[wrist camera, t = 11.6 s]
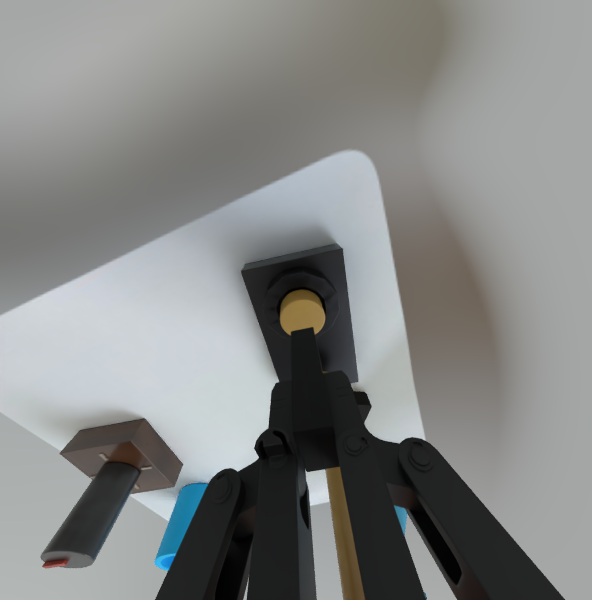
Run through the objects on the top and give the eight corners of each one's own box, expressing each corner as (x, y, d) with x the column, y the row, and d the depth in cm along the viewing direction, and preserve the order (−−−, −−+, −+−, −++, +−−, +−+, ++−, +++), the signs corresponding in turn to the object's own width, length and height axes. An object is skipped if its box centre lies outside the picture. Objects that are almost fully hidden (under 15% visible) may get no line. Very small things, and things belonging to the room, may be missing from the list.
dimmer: (127, 459, 28) (69, 553, 21) (146, 478, 30) (101, 569, 23) (93, 465, 29) (24, 559, 21) (115, 483, 31) (60, 575, 23)
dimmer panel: (79, 430, 30) (57, 454, 27) (144, 418, 29) (129, 442, 27) (126, 474, 35) (112, 498, 32) (183, 464, 35) (173, 488, 32)
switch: (276, 293, 18) (274, 304, 16) (317, 284, 18) (321, 295, 16) (286, 328, 19) (285, 342, 18) (324, 320, 19) (328, 333, 17)
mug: (193, 508, 41) (172, 575, 34) (171, 488, 38) (143, 558, 30) (251, 497, 40) (242, 564, 33) (234, 475, 37) (220, 545, 29)
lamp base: (245, 264, 20) (235, 278, 17) (337, 243, 20) (348, 253, 16) (284, 381, 27) (283, 409, 24) (353, 368, 27) (363, 395, 23)
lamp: (273, 365, 21) (180, 1430, 3) (353, 350, 20) (859, 1523, 2) (291, 417, 24) (301, 1043, 6) (360, 404, 24) (584, 1045, 6)
